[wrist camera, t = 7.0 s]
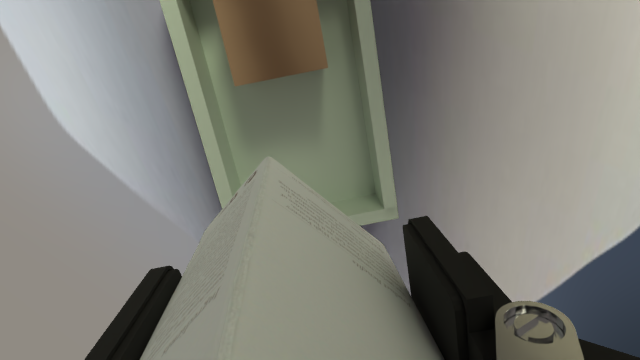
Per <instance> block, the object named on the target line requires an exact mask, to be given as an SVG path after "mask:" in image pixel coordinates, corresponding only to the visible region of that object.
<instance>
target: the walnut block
mask: <svg viewBox="0 0 640 360" xmlns="http://www.w3.org/2000/svg"><path fill="white" fill-rule="evenodd" d="M213 4H214V8H215V12H216V15H217V19H218V23H219V27H220V31H221V35H222V39H223V43H224V46H225V50H226V54H227V58H228V62H229V66H230V70H231V74H232V78H233V81H234V85H235V86H240V85H245V84H250V83H255V82H260V81H265V80H270V79H275V78H280V77H285V76H290V75H295V74H300V73H305V72H310V71H315V70H320V69H325V68H328V64H327V58H326V52H325V47H324V41H323V35H322V29H321V24H320V18H319V12H318V6H317V1H316V0H213Z"/></svg>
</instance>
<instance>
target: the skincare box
mask: <svg viewBox="0 0 640 360" xmlns="http://www.w3.org/2000/svg"><path fill="white" fill-rule="evenodd" d="M140 360H445V359H444V357H443V356H442V354H441V352H440V350H439V348H438V346H437V344H436V342H435V341H434V339H433V337H432V335H431V333H430V331H429V329H428V328H427V326H426V324H425V322H424V320H423V318H422V316H421V314H420V313H419V311H418V309H417V307H416V305H415V303H414V301H413V300H412V298H411V296H410V294H409V292H408V290H407V288H406V286H405V284H404V282H403V280H402V279H401V277H400V275H399V273H398V271H397V269H396V267H395V266H394V264H393V262H392V260H391V258H390V256H389V254H388V252H387V251H386V249H385V247H384V245H383V244H382V243H381V242H380V241H378V240H377V239H376V238H374V237H373V236H372V235H371V234H369V233H368V232H367V231H365V230H364V229H363V228H362V227H360V226H359V225H358V224H357V223H355V222H354V221H353V220H351V219H350V218H349V217H348V216H346V215H345V214H344V213H343V212H341V211H340V210H339V209H337V208H336V207H335V206H334V205H332V204H331V203H330V202H328V201H327V200H326V199H325V198H323V197H322V196H321V195H319V194H318V193H317V192H316V191H314V190H313V189H312V188H311V187H309V186H308V185H307V184H305V183H304V182H303V181H302V180H300V179H299V178H298V177H297V176H295V175H294V174H293V173H291V172H290V171H289V170H288V169H286V168H285V167H284V166H283V165H281V164H280V163H279V162H277V161H276V160H275V159H273V158H272V157H269V156H268V157H266V158H265V159H264V160H263V161H262V162H261V163H260V164H259V166H258V167H257V168H256V169H255V171H254V172H253V173H252V174H251V175H250V176H249V178H248V179H247V180H246V181H245V182H244V184H243V185H242V186H241V187H240V188H239V189H238V191H237V192H236V193H235V194H234V196H233V197H232V198H231V199H230V200H229V202H228V203H227V204H226V205H225V207H224V208H223V209H222V210H221V211H220V213H219V214H218V215H217V216H216V218H215V219H214V220H213V221H212V223H211V224H210V225H209V226H208V228H207V229H206V230H205V232H204V234H203V236H202V238H201V240H200V243H199V245H198V247H197V249H196V251H195V253H194V255H193V257H192V259H191V261H190V262H189V264H188V266H187V268H186V270H185V272H184V274H183V276H182V278H181V280H180V282H179V284H178V286H177V288H176V290H175V292H174V293H173V295H172V297H171V299H170V301H169V303H168V305H167V307H166V309H165V311H164V313H163V315H162V317H161V319H160V321H159V322H158V324H157V326H156V328H155V330H154V332H153V334H152V336H151V338H150V340H149V342H148V344H147V346H146V348H145V350H144V352H143V354H142V356H141V358H140Z"/></svg>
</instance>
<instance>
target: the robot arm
mask: <svg viewBox="0 0 640 360" xmlns="http://www.w3.org/2000/svg"><path fill="white" fill-rule="evenodd" d="M403 234H404V242H405V250H406V258H407V266H408V274H409V282H410V290H411V297H412V300H413V301H414V303H415V305H416V307H417V309H418V311H419V313H420V314H421V316H422V318H423V320H424V322H425V324H426V326H427V328H428V329H429V331H430V333H431V335H432V337H433V339H434V341H435V342H436V344H437V346H438V348H439V350H440V352H441V354H442V356H443V357H444V359H445V360H640V358H639V357H635V356H632V355H629V354H626V353H623V352H619V351H616V350H613V349H610V348H607V347H604V346H600V345H597V344H594V343H591V342H587V341H584V340H581V339H578V337H577V334H576V330H575V328H574V326H573V324H572V322H571V320H570V319H569V318H567V317H566V316H565V315H564V314H563V313H562V312H560V311H558V310H557V309H555V308H553V307H550V306H548V305H545V304H542V303H537V302H532V301H516V302H512V301H511V300H510V299H509V298H508V297H507V296H506V295H505V294H504V292H503V291H502V290H501V289H500V288H499V287H498V286H497V285H496V283H495V282H494V281H493V280H492V279H491V278H490V277H489V276H488V274H487V273H486V272H485V271H484V270H483V269H482V268H481V267H480V265H479V264H478V263H477V262H476V261H475V260H474V259H473V258H472V256H471V255H470V254H469V253H467V252H460V253H458V252H457V251H456V250H455V248H454V247H453V246H452V245H451V244H450V242H449V241H448V240H447V239H446V238H445V236H444V235H443V234H442V233H441V232H440V230H439V229H438V228H437V227H436V226H435V224H434V223H433V222H432V221H431V220H430V218H429V217H428V216H424V217H419V218H414V219H409V220H408V224H407V225H403ZM181 278H182V276H181V273H180V272H179V270H178V269H173V267H172V266H165V267H160V268H155V269H151V270H150V271H149V272H148V273H147V275H146V276H145V277H144V279H143V280H142V282H141V283H140V284H139V286H138V287H137V288H136V290H135V291H134V293H133V294H132V295H131V296H130V298H129V299H128V301H127V302H126V303H125V305H124V306H123V308H122V309H121V310H120V312H119V313H118V314H117V316H116V317H115V318H114V320H113V321H112V323H111V324H110V325H109V327H108V328H107V329H106V331H105V332H104V333H103V335H102V336H101V338H100V339H99V340H98V342H97V343H96V344H95V346H94V347H93V349H92V350H91V352H90V353H89V354H88V355H87V357H86V358H85V360H140V358H141V356H142V354H143V352H144V350H145V348H146V346H147V344H148V342H149V340H150V338H151V336H152V334H153V332H154V330H155V328H156V326H157V324H158V322H159V321H160V319H161V317H162V315H163V313H164V311H165V309H166V307H167V305H168V303H169V301H170V299H171V297H172V295H173V293H174V292H175V290H176V288H177V286H178V284H179V282H180V280H181Z"/></svg>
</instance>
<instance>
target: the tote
mask: <svg viewBox="0 0 640 360" xmlns="http://www.w3.org/2000/svg"><path fill="white" fill-rule="evenodd" d="M316 1H317V6H318V12H319V18H320V24H321V29H322V35H323V41H324V47H325V52H326V58H327V64H328V68H325V69H320V70H315V71H310V72H305V73H300V74H295V75H290V76H285V77H280V78H275V79H270V80H265V81H260V82H255V83H250V84H245V85H240V86H235V85H234V81H233V78H232V74H231V70H230V66H229V62H228V58H227V54H226V50H225V46H224V43H223V39H222V35H221V31H220V27H219V23H218V19H217V15H216V12H215V8H214V4H213V0H160V3H161V7H162V10H163V13H164V17H165V20H166V23H167V27H168V30H169V33H170V37H171V40H172V43H173V47H174V50H175V53H176V57H177V60H178V63H179V67H180V70H181V73H182V77H183V80H184V83H185V87H186V90H187V93H188V97H189V100H190V103H191V107H192V110H193V113H194V117H195V120H196V123H197V127H198V130H199V133H200V137H201V140H202V143H203V147H204V150H205V153H206V157H207V160H208V163H209V167H210V170H211V173H212V177H213V180H214V183H215V187H216V190H217V193H218V197H219V200H220V203H221V207H222V209H223V208H224V207H225V205H226V204H227V203H228V202H229V200H230V199H231V198H232V197H233V196H234V194H235V193H236V192H237V191H238V189H239V188H240V187H241V186H242V185H243V184H244V182H245V181H246V180H247V179H248V178H249V176H250V175H251V174H252V173H253V172H254V171H255V169H256V168H257V167H258V166H259V164H260V163H261V162H262V161H263V160H264V159H265V158H266V157H268V156H269V157H272V158H273V159H275V160H276V161H277V162H279V163H280V164H281V165H283V166H284V167H285V168H286V169H288V170H289V171H290V172H291V173H293V174H294V175H295V176H297V177H298V178H299V179H300V180H302V181H303V182H304V183H305V184H307V185H308V186H309V187H311V188H312V189H313V190H314V191H316V192H317V193H318V194H319V195H321V196H322V197H323V198H325V199H326V200H327V201H328V202H330V203H331V204H332V205H334V206H335V207H336V208H337V209H339V210H340V211H341V212H343V213H344V214H345V215H346V216H348V217H349V218H350V219H351V220H353V221H354V222H355V223H357V224H358V225H359V226H361V225H366V224H372V223H377V222H382V221H387V220H392V219H397V218H399V216H398V209H397V201H396V193H395V186H394V178H393V171H392V163H391V155H390V148H389V140H388V132H387V125H386V117H385V110H384V102H383V94H382V87H381V79H380V71H379V64H378V56H377V49H376V41H375V33H374V26H373V18H372V11H371V3H370V0H316Z"/></svg>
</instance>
